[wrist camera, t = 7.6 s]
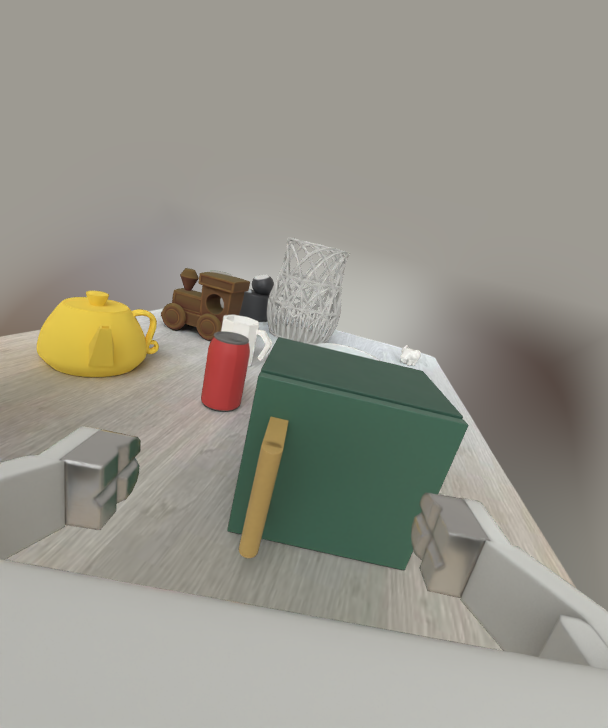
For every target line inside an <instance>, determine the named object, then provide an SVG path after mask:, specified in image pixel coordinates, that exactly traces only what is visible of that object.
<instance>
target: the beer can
mask: <svg viewBox="0 0 608 728" xmlns="http://www.w3.org/2000/svg"><path fill="white" fill-rule="evenodd" d="M249 356H250V347H249V339H248V338H247V337H246V336H244V335H241V334H238V333H234V332H227V331H221V332H216V333H215V334H214V338H213V339H212V341H211V342H210V345H209V348H208V355H207V362H206V369H205V375H204V382H203V389H202V396H201V399H202V402H203V403H204V405H205V406H207V407H208V408H210V409H213V410H217V411H231V410H234V409H236V408H237V407H239V406H240V403H241V398H242V393H243V388H244V382H245V377H246V372H247V367H248V361H249Z"/></svg>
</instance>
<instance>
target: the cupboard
mask: <svg viewBox="0 0 608 728" xmlns="http://www.w3.org/2000/svg"><path fill="white" fill-rule="evenodd" d="M261 372H263V373H267V374H271V375H276V376H280V377H284V378H288V379H293V380H297V381H301V382H305V383H310V384H314V385H318V386H322V387H326V388H331V389H335V390H339V391H343V392H348V393H352V394H356V395H360V396H365V397H369V398H373V399H377V400H382V401H386V402H390V403H394V404H399V405H403V406H407V407H411V408H416V409H420V410H424V411H428V412H433V413H437V414H441V415H445V416H450V417H454V418H458V419H462V418H463V416H462V415H461V414H460V413H459V412H458V410H457V409H456V408H455V407H454V406H453V405H452V404H451V403H450V401H449V400H448V399H447V398H446V397H445V396H444V395H443V393H442V392H441V391H440V390H439V389H438V388H437V387H436V386H435V384H434V383H433V382H432V381H431V380H430V379H429V378H428V376H427V375H426V374H425V373H424V372H423V371H420V370H416V369H412V368H407V367H403V366H399V365H395V364H391V363H386V362H382V361H378V360H374V359H370V358H365V357H361V356H357V355H353V354H349V353H345V352H340V351H336V350H332V349H328V348H324V347H319V346H315V345H311V344H307V343H303V342H298V341H294V340H290V339H286V338H282V337H278V339H277V341H276V343H275V344H274V346H273V348H272V350H271V352H270V354H269V356H268V358H267V360H266V362H265V364H264V365H263V367H262V369H261Z"/></svg>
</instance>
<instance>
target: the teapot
mask: <svg viewBox="0 0 608 728" xmlns="http://www.w3.org/2000/svg"><path fill="white" fill-rule="evenodd" d="M86 295H87V297H74V298H67V299H65V300H63V301H62V302H61V303H60V304H59V305H58V306H57V307H56V308H55V309H54V311H53V312H52V313H51V314H50V315H49V317H48V318H47V319H46V321H45V323H44V324H43V326H42V328H41V330H40V334H39V337H38V341H37V352H38V354H39V356H40V357H41V358H42V359H43V360H44V361H45V362H46V363H47V364H48V365H50V366H51V367H52V368H54V369H55V370H57V371H59V372H62V373H66V374H70V375H75V376H83V377H108V376H116V375H121V374H124V373H127V372H130V371H131V370H133V369H134V368H135V367H137V366H138V365H139V364H140V363H141V362H142V361H143V360H144V359H145V357H146V353H147V354H153V353H156V352H157V351H158V349H159V345H158V343H157V342H156V341H154V340H152V338H153V335H154V333H155V330H156V325H157V321H156V318H155V316H154V315H153V314H152V313H150V312H148V311H146V310H140V309H139V310H134V311H131V310H130V309H129V308H128V307H127V306H126V305H124V304H122V303H119V302H116V301H112V300H107V299H108V297H109V294H107V293H105V292H100V291H87V292H86ZM141 315H143V316H147V317H149V318H150V326H149V330H148V332H147V334H146V337H145V336H144V333H143V331H142V329H141V327H140V325H139V323H138V321H137V319H136V318H135V316H141ZM150 344H154V347H152V348H149V345H150Z"/></svg>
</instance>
